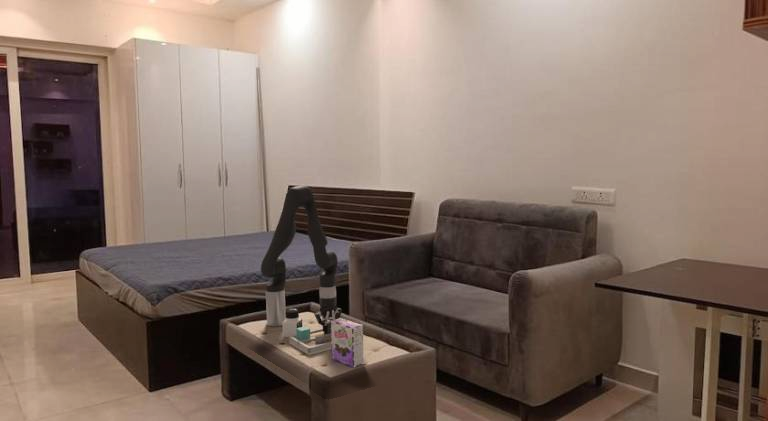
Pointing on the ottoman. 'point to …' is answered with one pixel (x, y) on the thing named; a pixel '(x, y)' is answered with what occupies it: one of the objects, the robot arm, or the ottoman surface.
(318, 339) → the grey puck
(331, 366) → the ottoman surface
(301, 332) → the cube
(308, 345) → the strip walnut
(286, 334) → the medicine bottle
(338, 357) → the candy box
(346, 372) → the ottoman surface
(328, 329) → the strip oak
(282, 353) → the ottoman surface
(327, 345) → the lane board
